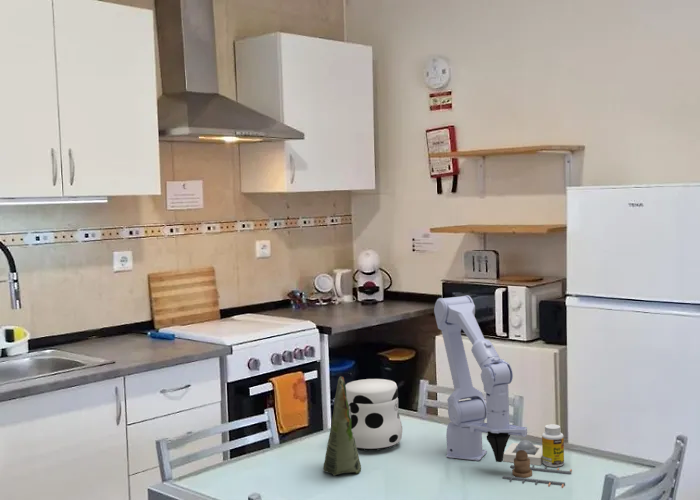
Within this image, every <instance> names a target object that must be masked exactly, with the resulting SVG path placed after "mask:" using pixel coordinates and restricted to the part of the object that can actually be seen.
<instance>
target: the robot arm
mask: <svg viewBox="0 0 700 500" xmlns="http://www.w3.org/2000/svg"><path fill="white" fill-rule="evenodd" d="M433 312H434V316H435V317H434V318H435V321H436V325H437V329H438V330H441V335H442V341H443V344H444V348H445V353H446V358H447V361H448V367H449V371H450V376H451V380H452V385H453V389H454V390H453V391H452V393H451V394H450V395H449V396H448V398H447V399H446V400H447V408H448V409H447V414H448V419H449V420H450V422H449V423H448V424H447V425H446V435H445V436H446V437H445V438H446V458H449V459H458V460H466V461H467V460H468V461H481V459H482V458H483V457H485V455H486V454H487V453H488V450H487V449H483V433H485V434H486V433H487V435H486V440H487V442H488V443H489V446H490V447H491V449H492V452H493V455H494V458H495V462H496V463H502V462H504V461H503V455H504V452H505V451H506V450H505V449H506V447H507V443H508V442H509V439H510V437H511V436H521V437H522V438H526V437H527V436H528V427H526V426H518V425H514V424H510V402H509V401H510V400H509V398H510V397H509V396H510V395H509V384H511V383H512V381H513V377H514V373H513V370H512V367H511V365H510V363H509V362H507V361H506V360H504V358H501V357H500V355H499V353H498V352H497V350H496V348H495V347H494V345H493V343H492V341H491V340H489V339H487V338H485V337H484V334H483V332H482V330H481V327H480V326H479V323H478V321H477V318H476V317H475V314H476V305H475V303H474V299H473V298H472V297H471V295H467V294H465V295H462V296H452V297H444V298H443V297H438V298H437V299H436V301H435V303H434V309H433ZM462 331H463V332H464V334H465V335H466V337H467V338H468V340H469V341H470V343H471V345H472V347H471V353H472V355H473V357H474V358H475V361H476V363H477V364H478V366H479V369H480V370H481V373H480V379H481V381H482V384H483V391H484V392H485V398H486V399H485V398H484V395H483V392H482V391H481V390H479V389H478V388H476V387H474V385H473V380H472V377H471V372H470V367H469V364H468V360H467V359H468V358H467V355H466V350H465V345H464V343H463V342H464V341H463V336H462V333H461V332H462ZM485 420H486V422H485Z"/></svg>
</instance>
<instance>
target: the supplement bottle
mask: <svg viewBox="0 0 700 500" xmlns="http://www.w3.org/2000/svg"><path fill="white" fill-rule="evenodd" d="M561 431H562V430H561V426H560V425H559V424H554V423H550V424H546V425H544V432H542V433H541V446H542V456H543V463H542V464H544V465H545V466H546V467H551V468H559V467H562V466H563V465H564V464H565V441H564V437H565V436H564V434H563V432H561Z"/></svg>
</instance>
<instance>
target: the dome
mask: <svg viewBox="0 0 700 500" xmlns="http://www.w3.org/2000/svg"><path fill="white" fill-rule="evenodd" d="M534 445H535V444H533V442H531V441H530V440H528V439H523V440H521V441H519V442H518V445H517V446H516V453H517V452H518V451H519V450H524V451H526V453H527V454H530V455H535V454H536V447H535V446H534Z"/></svg>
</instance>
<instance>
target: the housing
mask: <svg viewBox="0 0 700 500" xmlns="http://www.w3.org/2000/svg"><path fill="white" fill-rule="evenodd" d="M518 444H519V442H518V443H516V442H512V443H510V444H509V446H508V447H507V449H506V450H505V451H504V455H503V461H502V462H504V463H512V464H514V458H516V446H517V445H518ZM533 445H534V446H535V447H536V454H535V455H530V454H527V455H528V458H529V459H530V465H532V466H533V465H534V466H541V465H542V464H543V456H542V445H539V444H533Z"/></svg>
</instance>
